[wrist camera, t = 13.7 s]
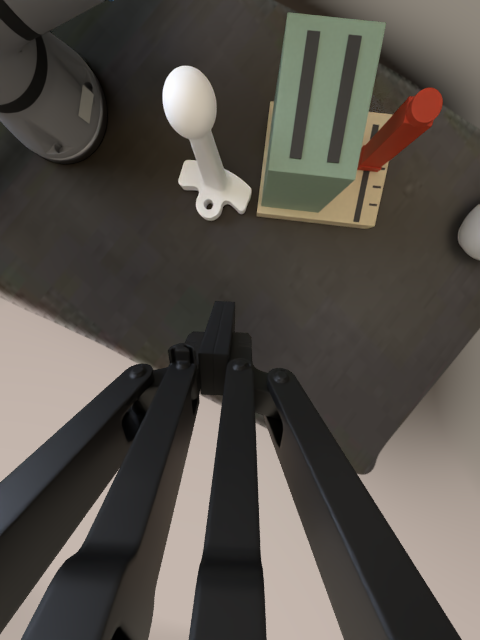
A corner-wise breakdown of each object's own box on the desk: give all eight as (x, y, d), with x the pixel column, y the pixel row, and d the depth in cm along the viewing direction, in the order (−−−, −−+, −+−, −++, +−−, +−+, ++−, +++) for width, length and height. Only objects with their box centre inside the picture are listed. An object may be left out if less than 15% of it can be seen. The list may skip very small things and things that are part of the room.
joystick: (254, 187, 36) (262, 81, 16) (237, 233, 37) (225, 186, 18) (190, 160, 35) (120, 16, 16) (175, 207, 37) (94, 128, 17)
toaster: (367, 229, 37) (442, 199, 22) (256, 216, 37) (261, 179, 23) (391, 119, 33) (495, 5, 19) (269, 106, 34) (285, -17, 20)
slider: (377, 172, 33) (438, 124, 22) (356, 170, 33) (407, 120, 22) (382, 150, 32) (447, 89, 22) (360, 147, 32) (415, 85, 22)
